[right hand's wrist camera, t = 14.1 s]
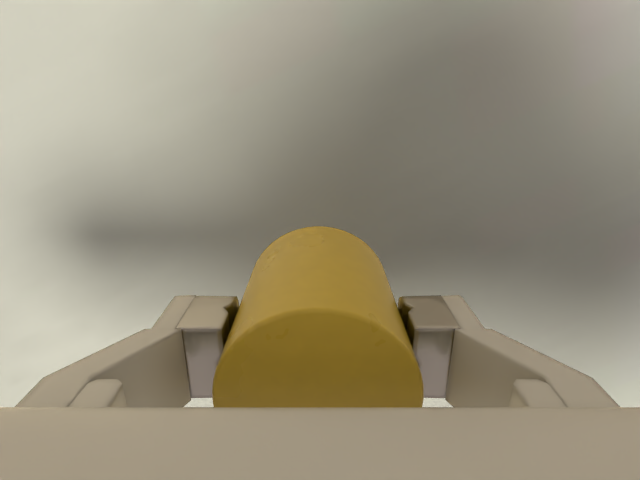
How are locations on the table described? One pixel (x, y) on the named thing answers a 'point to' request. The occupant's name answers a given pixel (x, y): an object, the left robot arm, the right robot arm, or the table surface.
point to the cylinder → (318, 330)
